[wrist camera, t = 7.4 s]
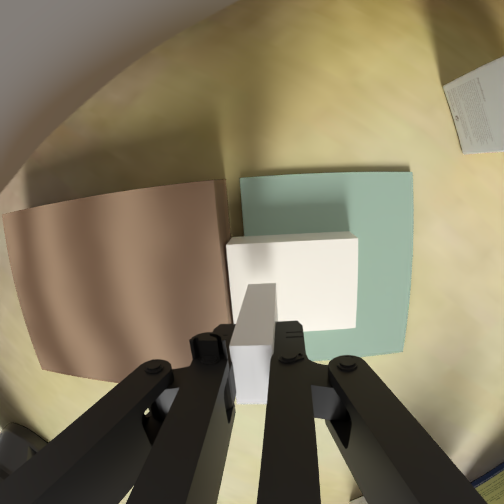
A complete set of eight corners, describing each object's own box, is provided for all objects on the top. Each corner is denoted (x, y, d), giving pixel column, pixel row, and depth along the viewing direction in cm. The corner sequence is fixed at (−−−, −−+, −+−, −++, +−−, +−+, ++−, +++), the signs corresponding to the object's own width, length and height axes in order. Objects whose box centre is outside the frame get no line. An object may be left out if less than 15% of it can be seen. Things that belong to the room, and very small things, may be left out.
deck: (64, 349, 26) (42, 369, 22) (32, 208, 23) (1, 214, 19) (243, 361, 24) (236, 391, 20) (225, 179, 21) (213, 180, 17)
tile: (239, 317, 23) (234, 333, 21) (232, 237, 22) (226, 244, 19) (348, 312, 22) (355, 328, 20) (349, 231, 21) (358, 238, 18)
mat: (255, 360, 24) (255, 363, 24) (240, 178, 21) (239, 178, 21) (401, 349, 23) (402, 351, 23) (410, 172, 20) (412, 171, 19)
